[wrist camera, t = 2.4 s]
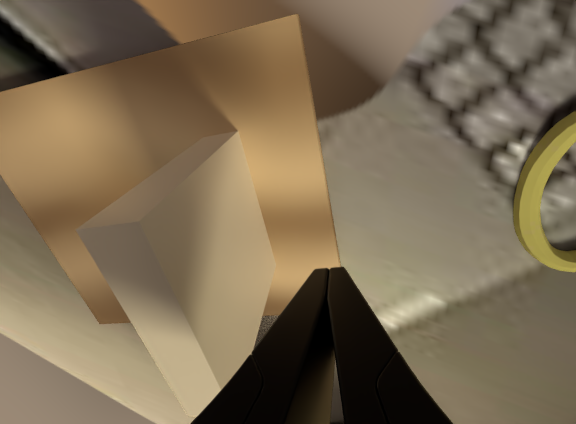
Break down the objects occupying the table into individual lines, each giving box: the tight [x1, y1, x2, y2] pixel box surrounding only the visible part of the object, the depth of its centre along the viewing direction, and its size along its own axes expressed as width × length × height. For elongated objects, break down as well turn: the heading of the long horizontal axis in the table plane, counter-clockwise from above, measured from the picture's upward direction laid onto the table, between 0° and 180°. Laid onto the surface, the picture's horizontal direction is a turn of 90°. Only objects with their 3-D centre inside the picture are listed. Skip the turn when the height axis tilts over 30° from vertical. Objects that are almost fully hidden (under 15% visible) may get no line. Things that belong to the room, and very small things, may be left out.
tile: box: [76, 131, 276, 417], centre depth 11 cm, size 7×2×8 cm, turn 12°
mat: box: [0, 14, 341, 324], centre depth 16 cm, size 14×16×1 cm
